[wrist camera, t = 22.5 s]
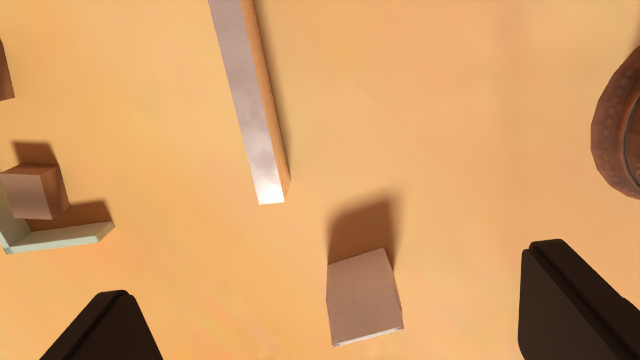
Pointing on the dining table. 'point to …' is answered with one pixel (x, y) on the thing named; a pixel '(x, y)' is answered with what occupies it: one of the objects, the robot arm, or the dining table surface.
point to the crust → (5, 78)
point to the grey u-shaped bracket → (43, 232)
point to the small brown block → (35, 191)
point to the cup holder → (619, 129)
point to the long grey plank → (252, 96)
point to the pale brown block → (362, 298)
